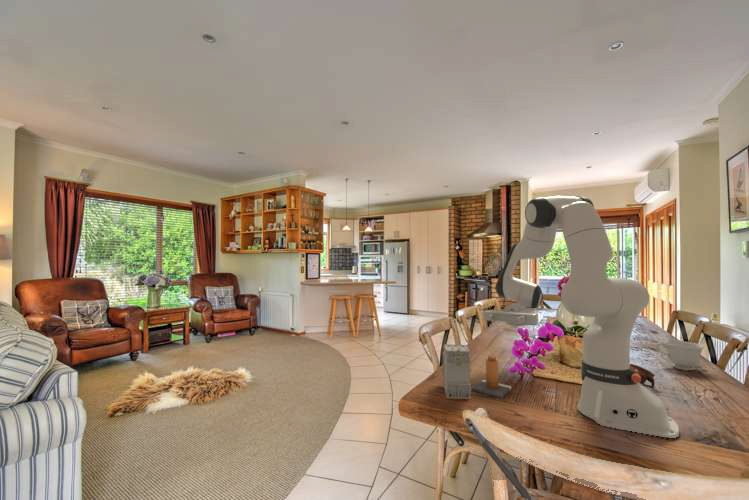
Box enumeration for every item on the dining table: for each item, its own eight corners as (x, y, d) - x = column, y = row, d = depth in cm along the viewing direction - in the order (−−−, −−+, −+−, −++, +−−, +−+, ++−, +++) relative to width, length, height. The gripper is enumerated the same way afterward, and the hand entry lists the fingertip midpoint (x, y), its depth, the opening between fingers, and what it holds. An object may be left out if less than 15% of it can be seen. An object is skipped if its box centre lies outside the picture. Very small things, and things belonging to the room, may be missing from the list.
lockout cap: (500, 386, 113) (499, 356, 114) (496, 390, 110) (495, 359, 110) (488, 384, 116) (488, 354, 116) (484, 387, 113) (484, 357, 113)
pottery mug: (613, 380, 123) (623, 361, 124) (642, 396, 119) (652, 376, 120) (624, 383, 112) (635, 361, 113) (657, 400, 108) (668, 378, 109)
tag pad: (511, 388, 114) (511, 386, 114) (501, 397, 106) (501, 395, 106) (482, 381, 120) (482, 379, 120) (471, 390, 112) (471, 387, 112)
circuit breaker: (463, 382, 120) (462, 340, 120) (470, 398, 105) (470, 351, 106) (442, 381, 120) (442, 340, 121) (446, 397, 106) (446, 350, 107)
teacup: (651, 361, 145) (651, 338, 145) (697, 366, 138) (696, 342, 138) (661, 369, 134) (660, 344, 134) (710, 375, 127) (710, 349, 127)
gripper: (488, 305, 140) (476, 308, 130) (541, 308, 127) (532, 312, 117) (489, 320, 140) (476, 325, 129) (542, 325, 127) (532, 330, 116)
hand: (503, 319), depth 123 cm, fingers open, 8 cm apart
